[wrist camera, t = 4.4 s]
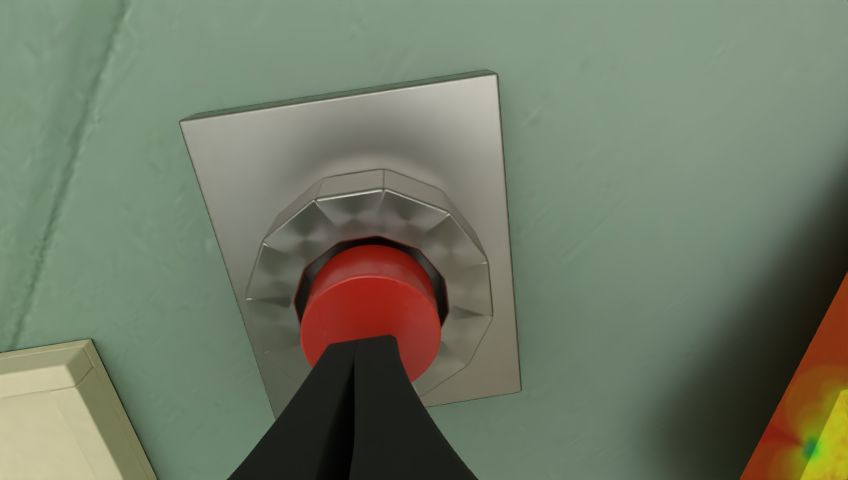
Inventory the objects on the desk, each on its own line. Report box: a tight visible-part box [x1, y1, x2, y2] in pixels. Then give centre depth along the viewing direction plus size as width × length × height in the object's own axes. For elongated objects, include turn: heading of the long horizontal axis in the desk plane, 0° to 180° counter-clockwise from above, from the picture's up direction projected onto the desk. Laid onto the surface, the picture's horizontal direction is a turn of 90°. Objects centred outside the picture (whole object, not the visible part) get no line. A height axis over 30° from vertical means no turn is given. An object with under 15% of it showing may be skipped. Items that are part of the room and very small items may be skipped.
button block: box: [179, 70, 522, 420], centre depth 14 cm, size 10×8×3 cm
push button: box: [300, 245, 441, 383], centre depth 12 cm, size 3×3×2 cm
